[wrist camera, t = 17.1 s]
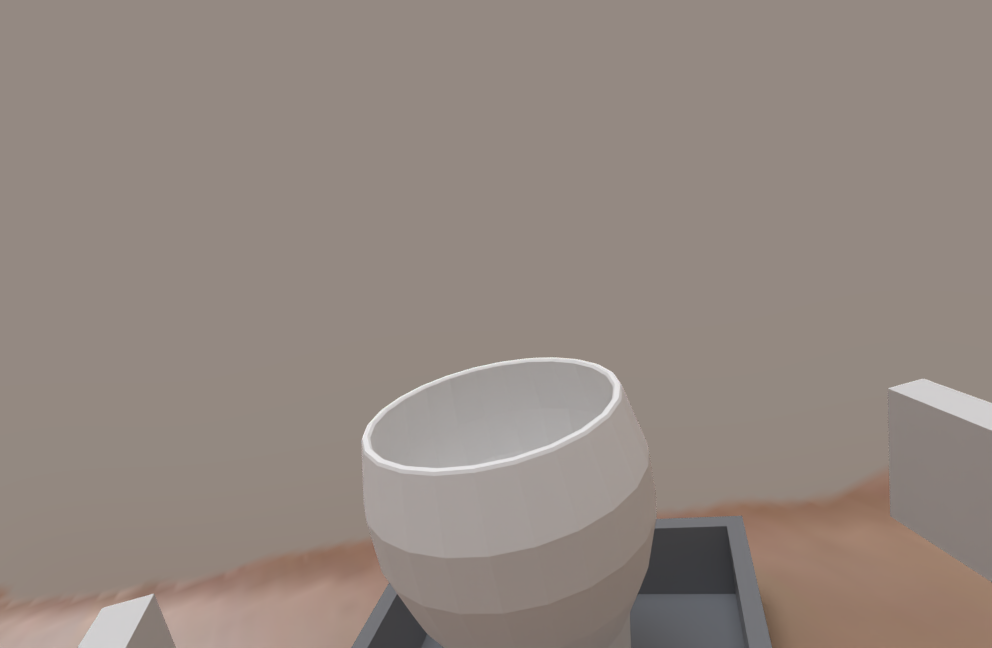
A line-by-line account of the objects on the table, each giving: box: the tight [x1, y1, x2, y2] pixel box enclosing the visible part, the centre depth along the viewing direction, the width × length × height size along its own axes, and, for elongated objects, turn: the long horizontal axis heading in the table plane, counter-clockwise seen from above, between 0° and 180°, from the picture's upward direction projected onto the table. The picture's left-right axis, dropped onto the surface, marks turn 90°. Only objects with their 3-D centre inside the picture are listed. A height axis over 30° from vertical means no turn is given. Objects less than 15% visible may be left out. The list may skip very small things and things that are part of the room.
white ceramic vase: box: [361, 357, 657, 648], centre depth 24 cm, size 11×11×15 cm
